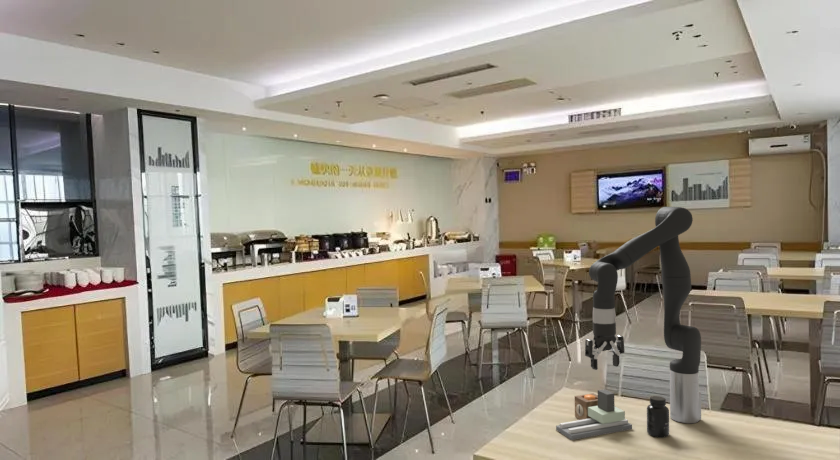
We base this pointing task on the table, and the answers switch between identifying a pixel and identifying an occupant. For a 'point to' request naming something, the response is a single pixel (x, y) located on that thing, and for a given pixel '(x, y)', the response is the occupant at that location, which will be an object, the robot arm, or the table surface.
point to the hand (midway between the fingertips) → (605, 367)
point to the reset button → (589, 397)
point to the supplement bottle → (657, 417)
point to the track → (591, 428)
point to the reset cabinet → (584, 406)
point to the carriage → (606, 408)
